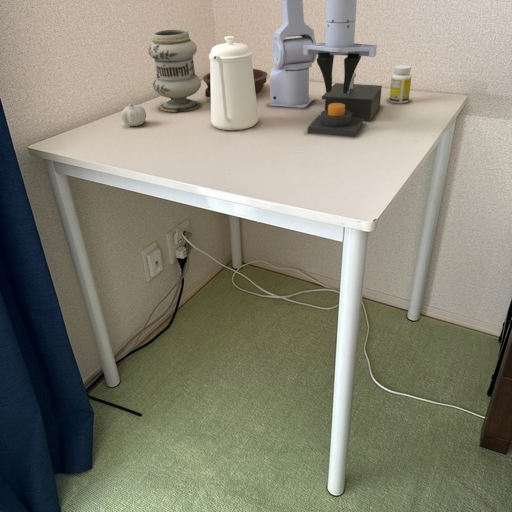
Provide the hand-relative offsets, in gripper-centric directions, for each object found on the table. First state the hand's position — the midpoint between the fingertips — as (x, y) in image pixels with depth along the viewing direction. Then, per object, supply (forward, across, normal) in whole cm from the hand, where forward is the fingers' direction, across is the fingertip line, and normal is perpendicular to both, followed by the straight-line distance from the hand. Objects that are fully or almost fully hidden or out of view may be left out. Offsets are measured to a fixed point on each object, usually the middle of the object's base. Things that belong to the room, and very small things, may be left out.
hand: (337, 91), depth 103 cm
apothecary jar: (+8, -43, +7) cm, 44 cm away
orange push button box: (+8, 0, 0) cm, 8 cm away
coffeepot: (+8, -23, -3) cm, 25 cm away
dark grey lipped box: (+8, +1, +13) cm, 15 cm away
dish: (+8, -34, +23) cm, 42 cm away
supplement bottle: (+8, +10, +25) cm, 28 cm away
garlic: (+8, -46, -9) cm, 48 cm away
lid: (+4, +1, +13) cm, 14 cm away
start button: (+5, 0, 0) cm, 5 cm away
